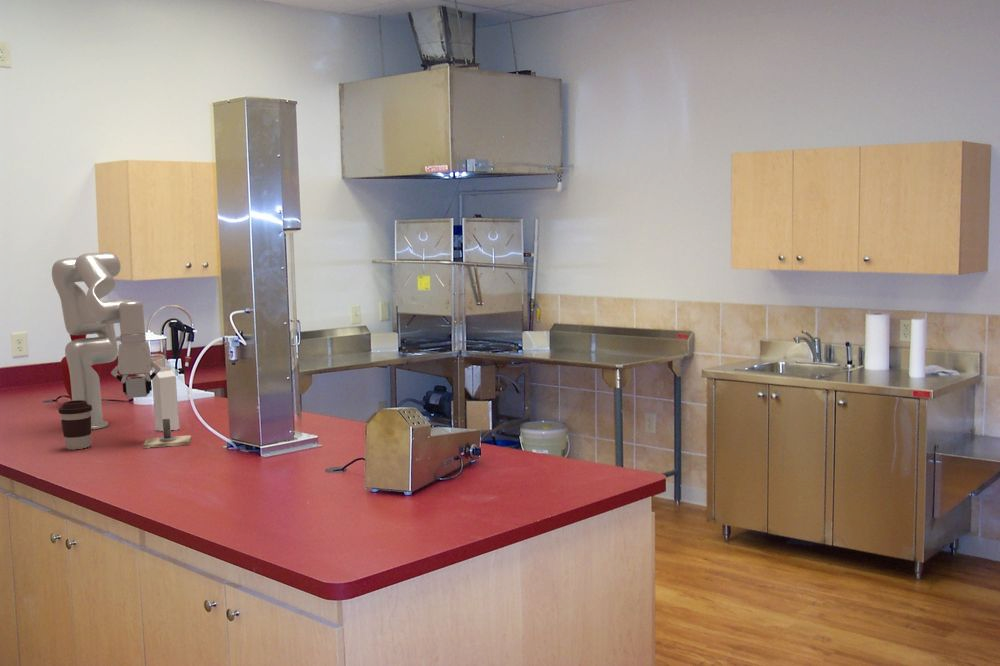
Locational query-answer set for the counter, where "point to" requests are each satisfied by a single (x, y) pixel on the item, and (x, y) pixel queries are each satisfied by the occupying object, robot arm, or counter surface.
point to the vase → (65, 368)
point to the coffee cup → (76, 424)
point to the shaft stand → (167, 438)
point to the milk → (165, 398)
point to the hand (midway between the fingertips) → (137, 393)
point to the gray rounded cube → (136, 387)
